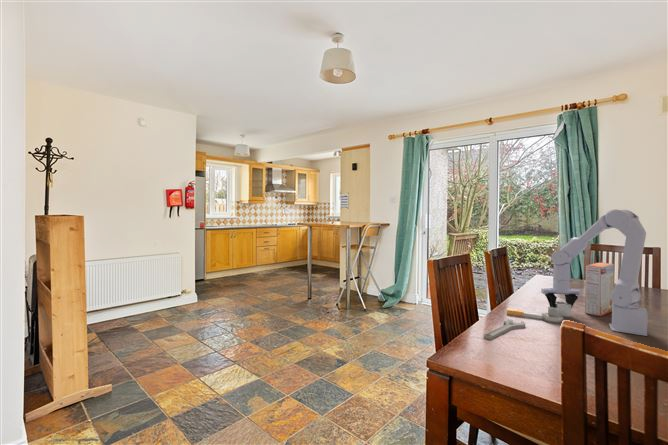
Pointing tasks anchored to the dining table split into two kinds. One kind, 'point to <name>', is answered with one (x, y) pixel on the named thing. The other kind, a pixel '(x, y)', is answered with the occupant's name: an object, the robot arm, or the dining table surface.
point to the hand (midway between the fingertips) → (560, 311)
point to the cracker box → (599, 288)
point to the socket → (563, 308)
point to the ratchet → (538, 315)
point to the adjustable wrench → (504, 329)
